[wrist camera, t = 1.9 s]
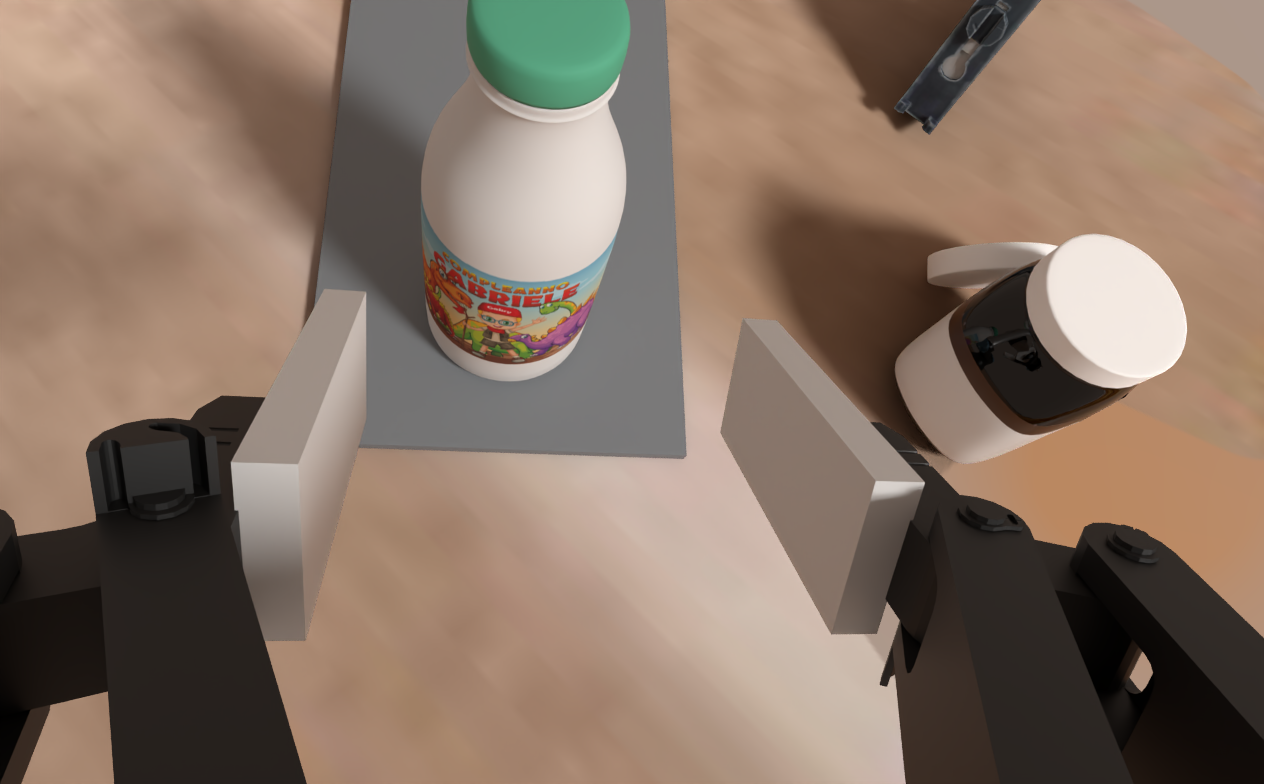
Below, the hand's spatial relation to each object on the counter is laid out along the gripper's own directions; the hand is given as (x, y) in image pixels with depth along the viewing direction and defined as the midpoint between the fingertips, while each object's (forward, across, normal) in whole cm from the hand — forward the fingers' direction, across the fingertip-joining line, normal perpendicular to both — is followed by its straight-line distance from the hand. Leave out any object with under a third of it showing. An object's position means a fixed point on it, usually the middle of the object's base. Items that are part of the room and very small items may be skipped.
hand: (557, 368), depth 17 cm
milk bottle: (+24, 0, -8) cm, 25 cm away
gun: (+39, +29, +6) cm, 49 cm away
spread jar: (+24, +25, -8) cm, 36 cm away
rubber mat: (+31, 0, -1) cm, 31 cm away
